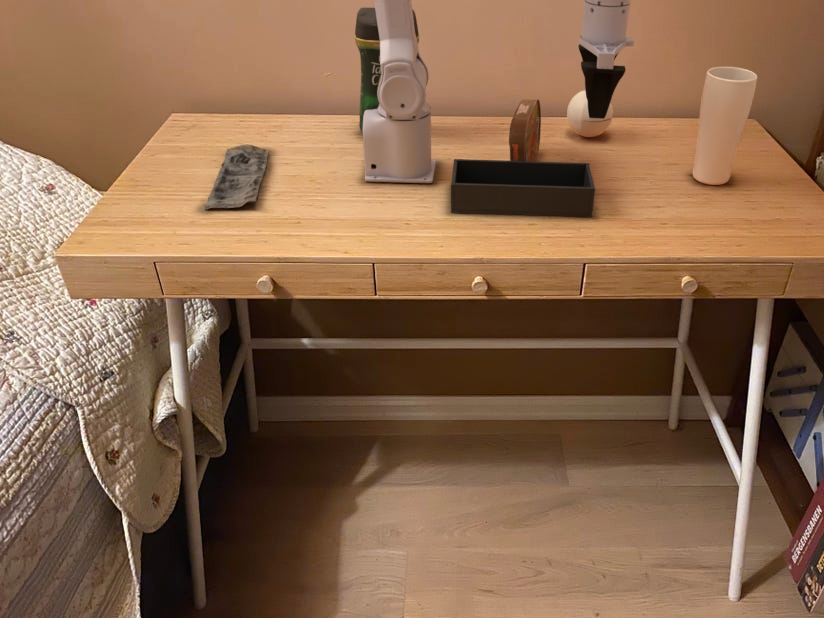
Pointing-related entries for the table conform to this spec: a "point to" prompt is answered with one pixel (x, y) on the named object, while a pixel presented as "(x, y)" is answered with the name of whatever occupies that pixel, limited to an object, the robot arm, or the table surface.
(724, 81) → the drinking glass
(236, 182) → the driftwood
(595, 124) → the white ball
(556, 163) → the bin
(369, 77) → the coffee jar
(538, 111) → the tin
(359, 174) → the table surface
